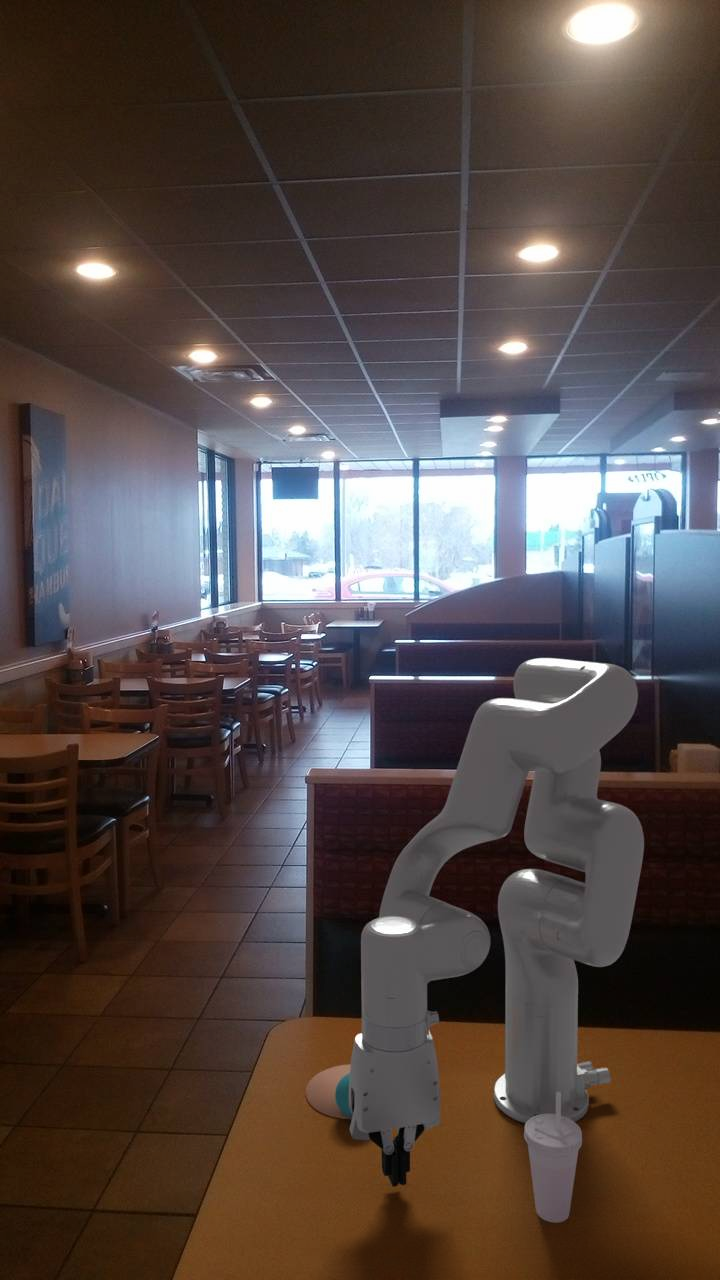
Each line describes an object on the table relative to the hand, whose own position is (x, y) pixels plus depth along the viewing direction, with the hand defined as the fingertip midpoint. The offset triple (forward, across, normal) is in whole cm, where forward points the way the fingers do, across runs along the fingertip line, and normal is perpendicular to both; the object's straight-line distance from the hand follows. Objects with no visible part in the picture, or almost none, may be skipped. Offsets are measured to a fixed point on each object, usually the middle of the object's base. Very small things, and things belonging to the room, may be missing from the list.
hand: (395, 1177), depth 109 cm
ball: (-1, +1, -16) cm, 16 cm away
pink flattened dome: (+2, 0, -21) cm, 21 cm away
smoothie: (+2, -16, +8) cm, 18 cm away
